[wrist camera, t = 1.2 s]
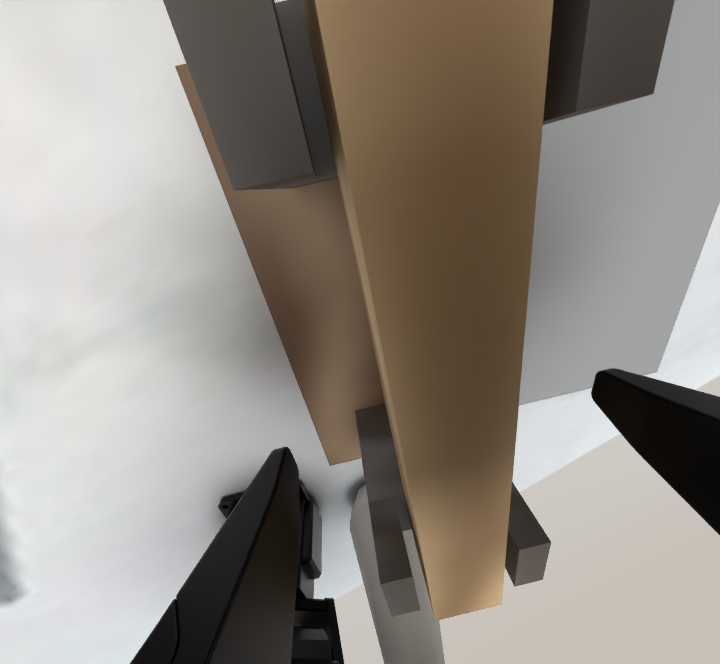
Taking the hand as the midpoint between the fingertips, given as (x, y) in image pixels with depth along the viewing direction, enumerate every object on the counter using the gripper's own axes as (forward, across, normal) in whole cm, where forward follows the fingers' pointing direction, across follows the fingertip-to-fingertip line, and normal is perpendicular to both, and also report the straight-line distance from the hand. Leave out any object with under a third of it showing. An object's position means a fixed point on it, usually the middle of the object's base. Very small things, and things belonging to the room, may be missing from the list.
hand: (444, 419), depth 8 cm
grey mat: (+9, -13, -2) cm, 16 cm away
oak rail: (+2, 0, 0) cm, 2 cm away
